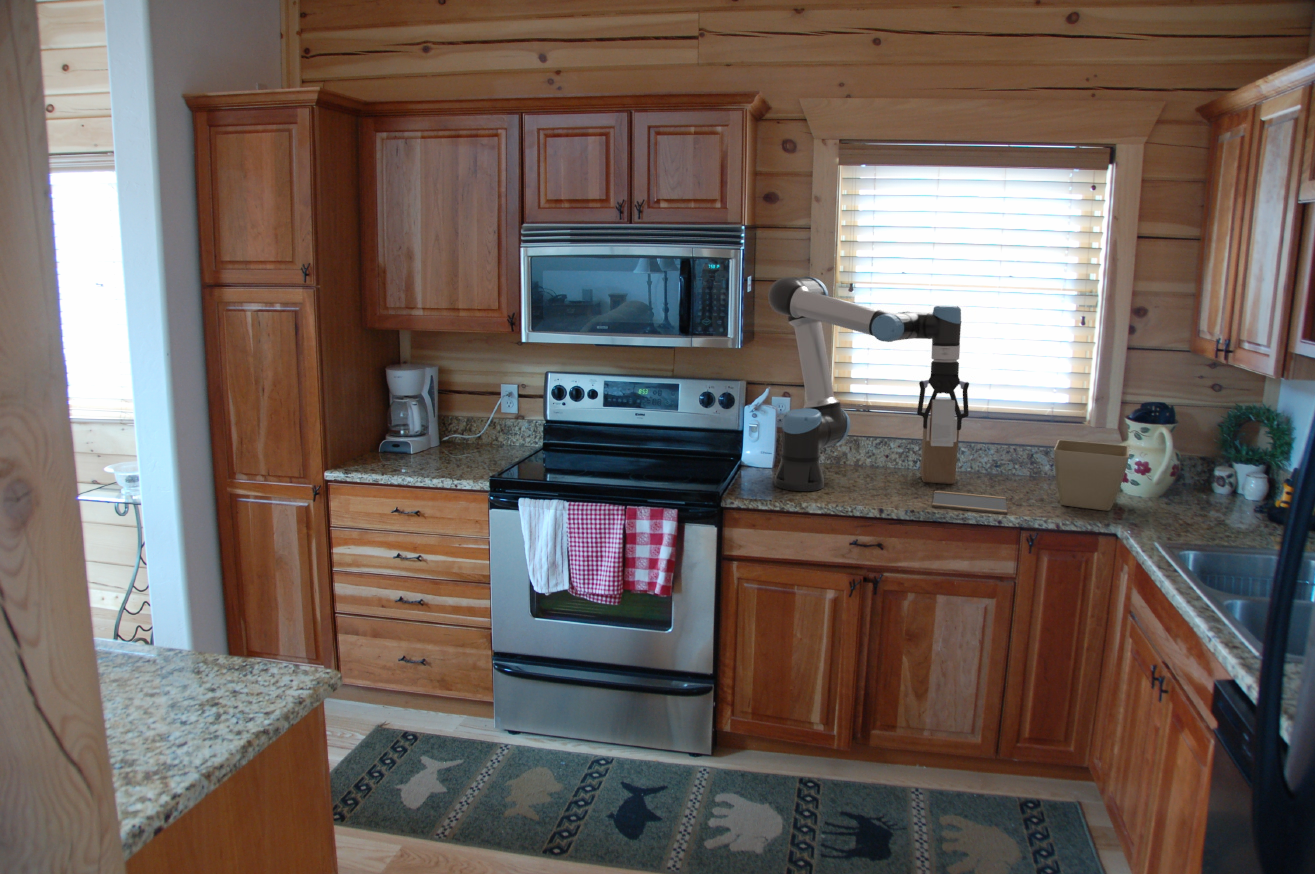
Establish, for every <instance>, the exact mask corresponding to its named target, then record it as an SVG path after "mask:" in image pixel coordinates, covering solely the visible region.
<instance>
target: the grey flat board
mask: <svg viewBox="0 0 1315 874" xmlns="http://www.w3.org/2000/svg"><path fill="white" fill-rule="evenodd" d="M1006 499H1007V497H1005V496H993V495H984V494H982V495H981V494H973V493H962V492H952V491H951V492H950V491H943V490H942V491H941V490H935V491H934V494H933V500H932V504H931V507H932V508H938V509H945V510H946V509H948V510H957V511H959V510H960V511H967V510H968V511H967V512H970V511H971V512H977V513H978V512H979V513H990V514H999V515H1008V505H1007V500H1006Z"/></svg>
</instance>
